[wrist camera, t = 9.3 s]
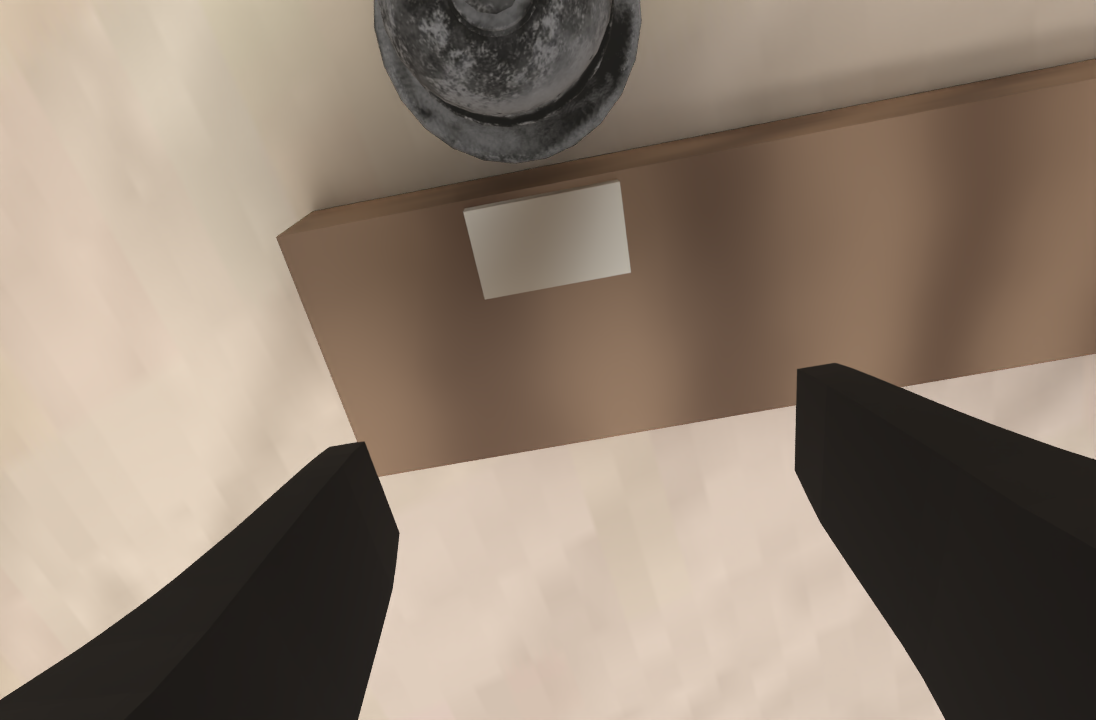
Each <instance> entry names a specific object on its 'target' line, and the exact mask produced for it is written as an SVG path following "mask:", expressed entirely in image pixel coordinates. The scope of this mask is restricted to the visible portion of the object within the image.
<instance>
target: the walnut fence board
mask: <svg viewBox="0 0 1096 720" xmlns="http://www.w3.org/2000/svg"><path fill="white" fill-rule="evenodd" d="M276 238H277V241H278V243H279V246H280V248H281V251H282V253H283V256H284V258H285V261H286V263H287V266H288V268H289V271H290V273H291V276H292V278H293V281H294V283H295V286H296V288H297V291H298V293H299V296H300V299H301V301H302V304H303V306H304V309H305V311H306V314H307V316H308V319H309V321H310V324H311V326H312V329H313V331H314V334H315V336H316V339H317V341H318V344H319V346H320V349H321V351H322V354H323V356H324V359H325V362H326V364H327V367H328V369H329V372H330V374H331V377H332V379H333V382H334V384H335V387H336V389H337V392H338V394H339V397H340V399H341V402H342V404H343V407H344V409H345V412H346V414H347V417H348V419H349V422H350V425H351V427H352V430H353V432H354V435H355V437H356V440H357V442H362V441H365V443H366V446H367V449H368V451H369V454H370V457H371V459H372V462H373V465H374V467H375V470H376V472H377V475H378V477H380V476H386V475H392V474H398V473H403V472H409V471H415V470H421V469H427V468H433V467H438V466H444V465H450V464H456V463H462V462H468V461H473V460H479V459H485V458H491V457H497V456H502V455H508V454H514V453H520V452H526V451H532V450H537V449H543V448H549V447H555V446H561V445H566V444H572V443H578V442H584V441H590V440H596V439H601V438H607V437H613V436H619V435H625V434H631V433H636V432H642V431H648V430H654V429H660V428H665V427H671V426H677V425H683V424H689V423H695V422H700V421H706V420H712V419H718V418H724V417H730V416H735V415H741V414H747V413H753V412H759V411H764V410H770V409H776V408H782V407H788V406H794V405H796V391H797V369H800V368H806V367H812V366H818V365H824V364H830V363H838V364H841V365H844V366H848V367H850V368H853V369H856V370H858V371H861V372H864V373H866V374H869V375H871V376H874V377H876V378H879V379H881V380H884V381H886V382H888V383H891V384H893V385H896V386H898V387H904V386H910V385H916V384H922V383H927V382H933V381H939V380H945V379H951V378H957V377H962V376H968V375H974V374H980V373H986V372H992V371H997V370H1003V369H1009V368H1015V367H1021V366H1026V365H1032V364H1038V363H1044V362H1050V361H1056V360H1061V359H1067V358H1073V357H1079V356H1085V355H1091V354H1096V59H1092V60H1087V61H1082V62H1077V63H1071V64H1066V65H1061V66H1056V67H1051V68H1046V69H1041V70H1036V71H1030V72H1025V73H1020V74H1015V75H1010V76H1005V77H1000V78H994V79H989V80H984V81H979V82H974V83H969V84H964V85H959V86H953V87H948V88H943V89H938V90H933V91H928V92H923V93H918V94H912V95H907V96H902V97H897V98H892V99H887V100H882V101H877V102H871V103H866V104H861V105H856V106H851V107H846V108H841V109H836V110H830V111H825V112H820V113H815V114H810V115H805V116H800V117H795V118H789V119H784V120H779V121H774V122H769V123H764V124H759V125H754V126H748V127H743V128H738V129H733V130H728V131H723V132H718V133H713V134H707V135H702V136H697V137H692V138H687V139H682V140H677V141H672V142H666V143H661V144H656V145H651V146H646V147H641V148H636V149H630V150H625V151H620V152H615V153H610V154H605V155H600V156H595V157H589V158H584V159H579V160H574V161H569V162H564V163H559V164H554V165H548V166H543V167H538V168H533V169H528V170H523V171H518V172H513V173H507V174H502V175H497V176H492V177H487V178H482V179H477V180H472V181H466V182H461V183H456V184H451V185H446V186H441V187H436V188H431V189H425V190H420V191H415V192H410V193H405V194H400V195H395V196H390V197H384V198H379V199H374V200H369V201H364V202H359V203H354V204H349V205H343V206H338V207H333V208H328V209H323V210H318V211H313V212H311V213H310V214H308V215H307V216H306V217H304V218H303V219H301V220H300V221H298V222H297V223H296V224H294V225H293V226H291V227H290V228H288V229H287V230H285V231H284V232H283V233H281V234H280V235H278V236H277V237H276Z"/></svg>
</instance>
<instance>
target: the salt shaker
mask: <svg viewBox="0 0 1096 720" xmlns="http://www.w3.org/2000/svg"><path fill="white" fill-rule="evenodd" d="M640 27H641V8H640V0H374V28H375V32H376V36H377V40H378V44H379V48H380V52H381V56H382V60H383V64H384V67H385V69H386V71H387V73H388V75H389V77H390V79H391V81H392V83H393V85H394V87H395V89H396V91H397V92H398V94H399V96H400V98H401V100H402V102H403V103H404V104H405V105H406V106H407V107H408V109H409V110H410V111H411V112H412V113H413V115H414V116H415V117H416V118H417V119H418V120H419V122H420V123H421V124H422V125H423V126H424V127H425V128H426V129H427V130H428V131H430V132H431V133H432V134H434V135H435V136H437V137H438V138H439V139H441V140H442V141H444V142H445V143H446V144H448V145H449V146H450V147H452V148H453V149H456V150H459V151H461V152H464V153H466V154H469V155H471V156H474V157H477V158H479V159H482V160H486V161H496V162H505V163H521V162H527V161H533V160H539V159H545V158H548V157H550V156H552V155H554V154H557V153H559V152H561V151H563V150H565V149H567V148H569V147H571V146H574V145H576V144H577V143H578V142H579V141H580V140H582V139H583V138H584V137H585V136H586V135H587V134H589V133H590V132H591V131H592V130H593V129H595V128H596V127H597V126H598V125H599V124H600V123H601V122H602V121H603V120H604V118H605V117H606V115H607V114H608V113H609V111H610V110H611V108H612V107H613V106H614V104H615V103H616V101H617V100H618V99H619V97H620V96H621V94H622V92H623V90H624V87H625V85H626V82H627V80H628V77H629V75H630V72H631V70H632V67H633V65H634V62H635V60H636V53H637V47H638V40H639V34H640Z"/></svg>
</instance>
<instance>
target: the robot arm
mask: <svg viewBox="0 0 1096 720" xmlns="http://www.w3.org/2000/svg"><path fill="white" fill-rule="evenodd" d="M795 472H796V474H797V476H798V478H799V480H800V482H801V484H802V486H803V488H804V491H805V493H806V495H807V497H808V499H809V501H810V503H811V505H812V507H813V509H814V511H815V513H816V515H817V517H818V519H819V521H820V523H821V524H822V526H823V527H824V529H825V530H826V532H827V533H828V535H829V537H830V538H831V540H832V541H833V543H834V544H835V546H836V547H837V549H838V550H839V552H840V553H841V555H842V556H843V558H844V559H845V561H846V562H847V564H848V565H849V567H850V568H851V570H852V571H853V573H854V574H855V576H856V577H857V579H858V580H859V581H860V583H861V584H862V586H863V587H864V589H865V590H866V592H867V593H868V595H869V596H870V598H871V599H872V601H873V602H874V604H875V605H876V607H877V608H878V610H879V611H880V613H881V614H882V616H883V617H884V619H885V620H886V621H887V623H888V624H889V626H890V627H891V629H892V630H893V632H894V633H895V635H896V636H897V638H898V639H899V641H900V642H901V644H902V645H903V647H904V648H905V650H906V652H907V653H908V655H909V656H910V658H911V660H912V661H913V663H914V665H915V666H916V668H917V669H918V671H919V673H920V674H921V676H922V678H923V679H924V681H925V683H926V685H927V687H928V688H929V690H930V692H931V694H932V696H933V698H934V700H935V701H936V703H937V705H938V707H939V709H940V711H941V712H942V714H943V716H944V718H945V720H1096V460H1095V459H1091V458H1088V457H1085V456H1082V455H1079V454H1076V453H1072V452H1069V451H1066V450H1063V449H1060V448H1057V447H1054V446H1051V445H1048V444H1046V443H1043V442H1040V441H1037V440H1034V439H1032V438H1029V437H1026V436H1023V435H1020V434H1017V433H1015V432H1012V431H1009V430H1006V429H1003V428H1001V427H998V426H995V425H993V424H990V423H987V422H985V421H982V420H980V419H977V418H974V417H972V416H969V415H967V414H964V413H962V412H959V411H957V410H954V409H952V408H949V407H947V406H944V405H942V404H939V403H937V402H934V401H932V400H929V399H927V398H925V397H922V396H920V395H917V394H915V393H912V392H910V391H908V390H905V389H903V388H900V387H898V386H896V385H893V384H891V383H888V382H886V381H884V380H881V379H879V378H876V377H874V376H871V375H869V374H866V373H864V372H861V371H858V370H856V369H853V368H850V367H848V366H844V365H841V364H838V363H830V364H824V365H818V366H812V367H806V368H800V369H797V391H796V438H795ZM398 542H399V530H398V528H397V525H396V523H395V520H394V517H393V515H392V512H391V509H390V507H389V504H388V501H387V499H386V496H385V494H384V491H383V488H382V486H381V483H380V480H379V478H378V475H377V472H376V470H375V467H374V465H373V462H372V459H371V457H370V454H369V451H368V449H367V446H366V443H365V441H362V442H356V443H350V444H344V445H338V446H332V447H329V448H327V449H326V450H325V451H323V452H322V453H321V454H319V455H318V456H317V457H316V458H314V459H313V460H312V461H311V462H310V463H308V464H307V465H306V466H305V467H304V468H303V469H301V470H300V471H299V472H298V473H297V474H296V475H295V476H293V477H292V478H291V479H290V480H289V481H288V482H287V483H286V484H284V485H283V486H282V487H281V488H280V489H279V490H278V491H277V492H276V493H274V494H273V495H272V496H271V497H270V498H269V499H268V500H267V501H265V502H264V503H263V504H262V505H261V506H260V507H259V508H258V509H256V510H255V511H254V512H253V513H252V514H251V515H250V516H249V517H247V518H246V519H245V520H244V521H243V522H242V523H241V524H240V525H238V526H237V527H236V528H235V529H234V530H233V531H232V532H230V533H229V534H228V535H227V536H226V537H224V538H223V539H222V540H221V541H220V542H218V543H217V544H216V545H215V546H213V547H212V548H211V549H210V550H209V551H207V552H206V553H205V554H204V555H203V556H201V557H200V558H199V559H198V560H197V561H195V562H194V563H193V564H192V565H191V566H189V567H188V568H187V569H186V570H185V571H183V572H182V573H181V574H180V575H179V576H177V577H176V578H175V579H174V580H172V581H171V582H170V583H169V584H167V585H166V586H165V587H163V588H162V589H161V590H160V591H158V592H157V593H156V594H154V595H153V596H152V597H150V598H149V599H148V600H147V601H145V602H144V603H143V604H141V605H140V606H139V607H137V608H136V609H134V610H133V611H132V612H130V613H129V614H128V615H126V616H125V617H123V618H122V619H121V620H119V621H118V622H116V623H115V624H114V625H112V626H111V627H109V628H108V629H107V630H105V631H104V632H103V633H101V634H100V635H98V636H97V637H96V638H94V639H93V640H91V641H90V642H88V643H87V644H85V645H84V646H83V647H81V648H80V649H78V650H77V651H75V652H74V653H72V654H70V655H69V656H67V657H66V658H64V659H63V660H61V661H60V662H58V663H57V664H55V665H53V666H52V667H50V668H49V669H47V670H46V671H44V672H43V673H41V674H40V675H38V676H36V677H35V678H33V679H32V680H30V681H29V682H27V683H26V684H24V685H23V686H21V687H19V688H18V689H16V690H15V691H13V692H12V693H10V694H9V695H7V696H6V697H4V698H2V699H1V700H0V720H358V717H359V714H360V710H361V706H362V703H363V699H364V695H365V691H366V688H367V684H368V680H369V677H370V673H371V669H372V665H373V662H374V658H375V654H376V651H377V647H378V643H379V639H380V636H381V632H382V628H383V624H384V620H385V617H386V613H387V609H388V605H389V601H390V597H391V593H392V589H393V582H394V575H395V568H396V560H397V551H398Z"/></svg>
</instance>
